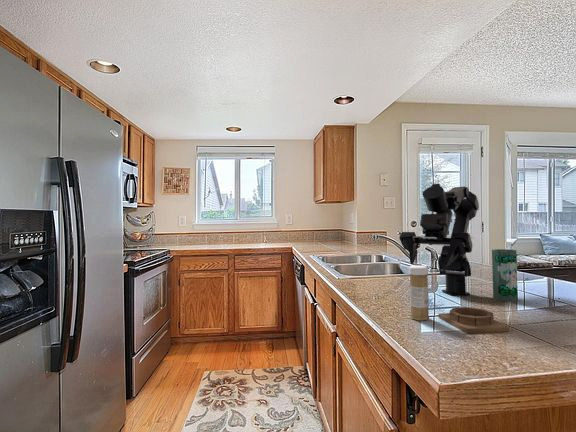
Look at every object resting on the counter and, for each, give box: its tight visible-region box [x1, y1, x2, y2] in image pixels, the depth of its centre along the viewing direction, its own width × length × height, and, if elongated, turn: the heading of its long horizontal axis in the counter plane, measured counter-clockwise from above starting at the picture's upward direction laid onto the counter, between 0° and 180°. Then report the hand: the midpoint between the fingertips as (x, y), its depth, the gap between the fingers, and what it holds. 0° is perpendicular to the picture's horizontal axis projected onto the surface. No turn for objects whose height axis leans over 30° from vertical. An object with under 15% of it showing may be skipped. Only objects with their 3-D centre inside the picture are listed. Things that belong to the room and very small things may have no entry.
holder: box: [437, 306, 510, 334], centre depth 81 cm, size 12×10×3 cm
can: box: [491, 248, 519, 303], centre depth 103 cm, size 6×6×15 cm
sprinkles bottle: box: [408, 265, 430, 321], centre depth 87 cm, size 5×5×13 cm
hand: (428, 264), depth 92 cm, fingers open, 9 cm apart
